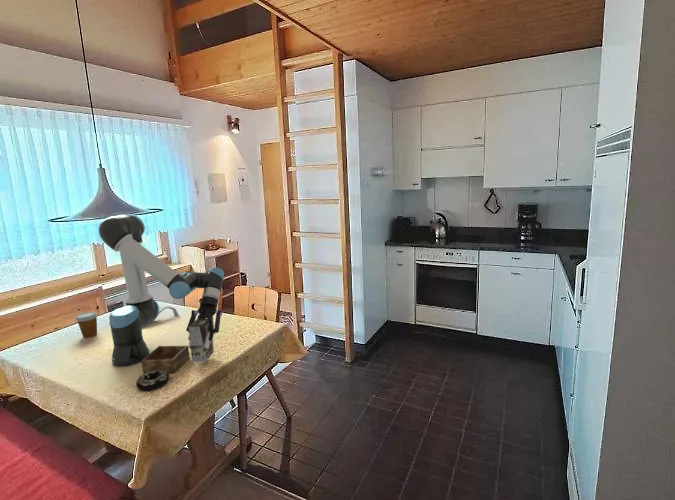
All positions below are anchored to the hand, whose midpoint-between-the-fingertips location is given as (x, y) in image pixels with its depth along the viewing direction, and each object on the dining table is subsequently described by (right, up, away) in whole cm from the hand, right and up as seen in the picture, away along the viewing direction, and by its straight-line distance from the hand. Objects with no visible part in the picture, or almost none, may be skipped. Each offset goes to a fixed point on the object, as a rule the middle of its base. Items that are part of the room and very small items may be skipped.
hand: (198, 347), depth 156 cm
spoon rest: (-47, 0, +58) cm, 75 cm away
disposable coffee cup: (-73, -4, +40) cm, 84 cm away
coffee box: (0, -5, +5) cm, 7 cm away
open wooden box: (-15, -9, +3) cm, 17 cm away
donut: (-14, -12, -11) cm, 21 cm away
